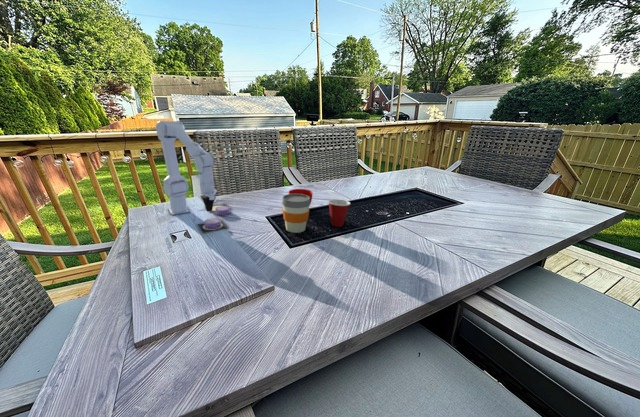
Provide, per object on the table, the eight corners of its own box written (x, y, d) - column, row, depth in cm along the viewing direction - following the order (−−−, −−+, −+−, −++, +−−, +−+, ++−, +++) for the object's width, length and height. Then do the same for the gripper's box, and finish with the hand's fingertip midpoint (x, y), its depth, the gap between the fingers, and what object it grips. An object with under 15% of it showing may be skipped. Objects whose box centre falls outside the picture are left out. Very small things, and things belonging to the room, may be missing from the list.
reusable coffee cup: (276, 228, 120) (276, 196, 115) (296, 221, 128) (297, 191, 123) (294, 237, 112) (295, 203, 107) (315, 229, 121) (316, 198, 116)
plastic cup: (351, 223, 130) (353, 200, 126) (344, 230, 120) (346, 206, 116) (331, 218, 134) (332, 196, 130) (322, 226, 124) (324, 202, 120)
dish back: (213, 211, 135) (213, 207, 134) (227, 209, 139) (227, 205, 138) (218, 216, 129) (217, 211, 129) (232, 213, 133) (231, 209, 133)
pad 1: (206, 207, 141) (206, 206, 141) (224, 204, 147) (224, 204, 147) (211, 212, 133) (211, 212, 133) (230, 209, 139) (230, 209, 139)
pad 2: (198, 224, 119) (198, 224, 119) (220, 220, 125) (220, 220, 125) (204, 232, 111) (204, 232, 111) (227, 227, 117) (227, 227, 117)
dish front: (202, 225, 118) (202, 219, 118) (218, 222, 123) (217, 216, 122) (207, 230, 113) (206, 225, 113) (223, 227, 118) (223, 221, 117)
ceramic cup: (280, 213, 138) (280, 195, 134) (295, 204, 153) (295, 187, 149) (302, 217, 133) (303, 199, 130) (315, 207, 148) (316, 191, 145)
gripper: (220, 184, 112) (223, 214, 117) (211, 177, 123) (213, 204, 127) (203, 186, 108) (206, 216, 112) (195, 178, 119) (198, 207, 123)
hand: (209, 210), depth 120 cm, fingers closed
